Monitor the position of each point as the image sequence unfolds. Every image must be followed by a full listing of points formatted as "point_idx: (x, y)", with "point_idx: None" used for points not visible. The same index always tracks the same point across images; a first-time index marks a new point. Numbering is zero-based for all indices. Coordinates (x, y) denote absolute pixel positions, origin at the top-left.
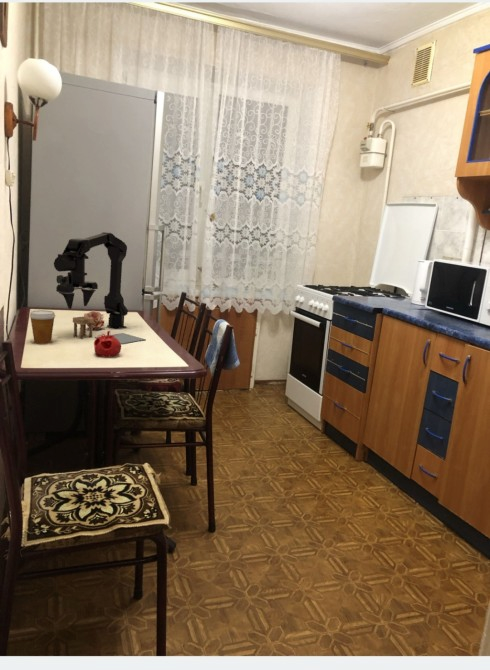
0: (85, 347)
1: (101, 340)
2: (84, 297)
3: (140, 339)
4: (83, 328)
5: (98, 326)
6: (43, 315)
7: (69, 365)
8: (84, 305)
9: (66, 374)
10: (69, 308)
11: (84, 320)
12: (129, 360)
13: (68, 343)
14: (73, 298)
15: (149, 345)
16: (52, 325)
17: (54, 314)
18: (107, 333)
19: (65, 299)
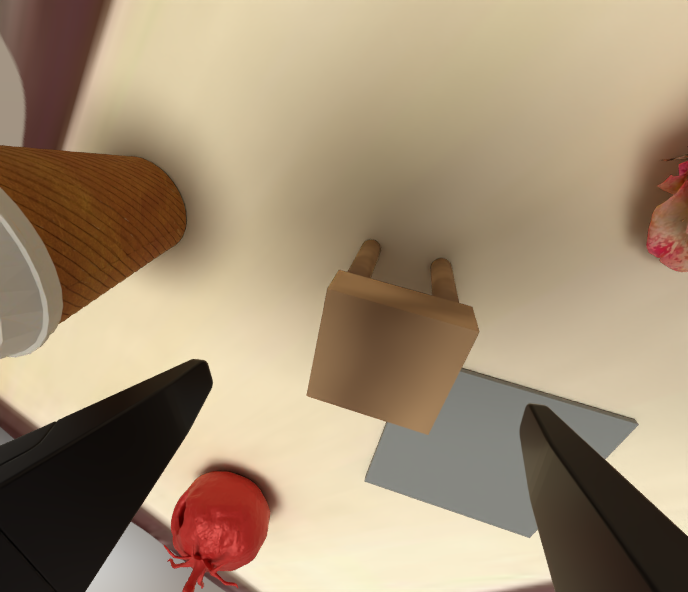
0: (244, 406)
1: (173, 544)
2: (612, 587)
3: (511, 523)
4: (432, 288)
5: (683, 268)
6: None
7: None
8: (525, 415)
9: None
10: (196, 372)
11: (337, 400)
12: None
13: (231, 321)
14: (89, 582)
15: (444, 553)
16: (91, 301)
17: (23, 344)
18: (188, 579)
19: (17, 447)
